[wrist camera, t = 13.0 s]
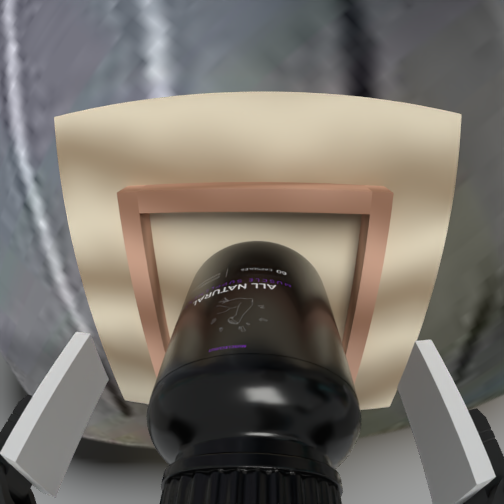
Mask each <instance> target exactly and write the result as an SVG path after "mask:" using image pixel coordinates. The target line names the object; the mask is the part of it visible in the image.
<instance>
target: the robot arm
mask: <svg viewBox="0 0 504 504" xmlns="http://www.w3.org/2000/svg"><path fill="white" fill-rule="evenodd" d="M108 380H109V379H108V377H107V374H106V372H105V370H104V367H103V365H102V362H101V360H100V357H99V355H98V352H97V349H96V347H95V344H94V342H93V339H92V336H91V334H88V333H81V332H76V333H75V334H74V336H73V337H72V338H71V340H70V341H69V343H68V344H67V346H66V347H65V348H64V350H63V351H62V353H61V354H60V356H59V357H58V359H57V360H56V362H55V363H54V365H53V366H52V368H51V369H50V371H49V372H48V374H47V375H46V377H45V378H44V380H43V381H42V383H41V384H40V386H39V387H38V389H37V391H36V392H35V394H34V395H33V396H31V395H27V396H26V397H25V398H23V399H22V400H21V401H20V402H19V403H18V404H17V406H16V407H15V409H14V410H13V414H11V416H10V417H9V419H8V422H6V424H5V425H4V427H3V429H2V431H1V432H0V504H36V501H35V498H34V494H33V492H32V490H31V489H30V488H31V486H32V485H33V486H35V487H36V488H37V489H38V490H39V491H41V492H43V493H45V494H47V495H50V496H52V497H54V498H56V495H57V493H58V490H59V488H60V485H61V483H62V481H63V478H64V476H65V473H66V471H67V468H68V466H69V464H70V461H71V459H72V457H73V454H74V452H75V450H76V447H77V445H78V443H79V441H80V439H81V436H82V434H83V432H84V430H85V428H86V425H87V423H88V421H89V419H90V417H91V415H92V413H93V410H94V408H95V406H96V404H97V402H98V400H99V398H100V396H101V394H102V392H103V390H104V388H105V386H106V384H107V382H108ZM397 388H398V391H399V394H400V397H401V400H402V402H403V405H404V408H405V411H406V414H407V417H408V420H409V423H410V426H411V429H412V432H413V435H414V438H415V442H416V444H417V448H418V452H419V455H420V458H421V462H422V465H423V468H424V472H425V475H426V479H427V483H428V487H429V490H430V494H431V498H432V502H433V504H504V456H503V454H502V452H501V449H500V447H499V445H498V442H497V440H496V439H495V436H494V434H493V431H492V430H491V427H490V425H489V423H488V421H487V419H486V417H485V416H484V415H483V414H482V413H481V412H480V411H479V410H478V409H473V410H469V411H468V410H467V408H466V405H465V403H464V401H463V399H462V397H461V395H460V393H459V391H458V389H457V387H456V385H455V383H454V381H453V379H452V377H451V375H450V373H449V372H448V370H447V368H446V366H445V364H444V362H443V360H442V358H441V357H440V355H439V353H438V351H437V349H436V348H435V346H434V344H433V342H432V340H422V341H415V343H414V346H413V348H412V351H411V354H410V356H409V359H408V362H407V364H406V367H405V369H404V372H403V374H402V377H401V379H400V382H399V384H398V386H397Z"/></svg>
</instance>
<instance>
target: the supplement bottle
mask: <svg viewBox="0 0 504 504" xmlns="http://www.w3.org/2000/svg"><path fill="white" fill-rule="evenodd" d="M147 426H148V430H149V434H150V437H151V440H152V442H153V444H154V446H155V448H156V449H157V451H158V452H159V454H160V455H161V456H162V457H163V459H164V460H165V461H166V462H167V463H168V464H169V466H168V467H167V468H166V469H165V471H164V474H163V479H162V484H161V489H162V495H161V500H160V504H342V503H341V496H342V493H343V490H342V483H341V478H340V475H339V473H338V472H337V471H336V470H335V469H336V468H337V467H338V466H340V465H341V464H342V463H343V462H344V461H345V459H346V458H347V457H348V456H349V454H350V453H351V451H352V449H353V448H354V446H355V444H356V442H357V439H358V436H359V433H360V429H361V412H360V407H359V401H358V398H357V394H356V390H355V386H354V383H353V379H352V376H351V372H350V369H349V365H348V362H347V358H346V355H345V351H344V348H343V345H342V341H341V338H340V335H339V331H338V328H337V325H336V322H335V318H334V315H333V312H332V309H331V306H330V303H329V299H328V296H327V293H326V291H325V288H324V285H323V282H322V280H321V278H320V276H319V274H318V272H317V271H316V269H315V268H314V267H313V265H312V264H311V263H310V262H309V261H308V260H307V259H306V258H305V257H303V256H302V255H301V254H299V253H298V252H296V251H294V250H293V249H291V248H289V247H286V246H284V245H281V244H277V243H273V242H267V241H247V242H241V243H237V244H233V245H231V246H228V247H226V248H224V249H222V250H220V251H218V252H217V253H215V254H214V255H212V256H211V257H210V258H209V259H207V260H206V261H205V262H204V263H203V265H202V266H201V267H200V269H199V270H198V271H197V273H196V275H195V277H194V279H193V281H192V283H191V286H190V288H189V291H188V293H187V296H186V298H185V301H184V304H183V306H182V309H181V312H180V314H179V317H178V320H177V323H176V325H175V328H174V331H173V334H172V336H171V339H170V342H169V345H168V347H167V350H166V353H165V356H164V359H163V362H162V364H161V367H160V370H159V373H158V376H157V379H156V382H155V385H154V388H153V391H152V394H151V397H150V401H149V404H148V409H147Z"/></svg>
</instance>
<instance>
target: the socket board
mask: <svg viewBox="0 0 504 504" xmlns="http://www.w3.org/2000/svg"><path fill="white" fill-rule="evenodd" d="M54 120H55V134H56V144H57V154H58V163H59V170H60V178H61V184H62V191H63V197H64V203H65V208H66V214H67V219H68V224H69V229H70V234H71V238H72V243H73V247H74V251H75V256H76V260H77V264H78V268H79V271H80V275H81V279H82V282H83V286H84V290H85V293H86V296H87V300H88V303H89V306H90V310H91V313H92V316H93V319H94V322H95V325H96V328H97V331H98V334H99V337H100V339H101V342H102V345H103V348H104V350H105V353H106V356H107V358H108V361H109V364H110V366H111V369H112V371H113V374H114V376H115V379H116V381H117V383H118V386H119V388H120V390H121V393H122V395H123V397H124V400H126V401H132V402H138V403H144V404H149V401H150V397H151V394H152V391H153V388H154V385H155V382H156V379H157V376H158V373H159V370H160V367H161V364H162V362H163V359H164V356H165V353H166V350H167V347H168V345H169V342H170V339H171V336H172V334H173V331H174V328H175V325H176V323H177V320H178V317H179V314H180V312H181V309H182V306H183V304H184V301H185V298H186V296H187V293H188V291H189V288H190V286H191V283H192V281H193V279H194V277H195V275H196V273H197V271H198V270H199V269H200V267H201V266H202V265H203V263H204V262H205V261H206V260H207V259H209V258H210V257H211V256H212V255H214V254H215V253H217V252H218V251H220V250H222V249H224V248H226V247H228V246H231V245H233V244H237V243H241V242H247V241H267V242H273V243H277V244H281V245H284V246H286V247H289V248H291V249H293V250H294V251H296V252H298V253H299V254H301V255H302V256H303V257H305V258H306V259H307V260H308V261H309V262H310V263H311V264H312V265H313V267H314V268H315V269H316V271H317V272H318V274H319V276H320V278H321V280H322V282H323V285H324V288H325V291H326V293H327V296H328V299H329V303H330V306H331V309H332V312H333V315H334V318H335V322H336V325H337V328H338V331H339V335H340V338H341V341H342V345H343V348H344V351H345V355H346V358H347V362H348V365H349V369H350V372H351V376H352V379H353V383H354V386H355V390H356V394H357V398H358V401H359V407H360V410H365V409H374V408H383V407H390V405H391V402H392V400H393V398H394V396H395V394H396V391H397V389H398V388H397V386H398V384H399V382H400V379H401V377H402V374H403V372H404V369H405V367H406V364H407V362H408V359H409V356H410V354H411V351H412V348H413V346H414V343H415V341H417V338H418V335H419V332H420V330H421V327H422V324H423V321H424V317H425V314H426V311H427V308H428V305H429V301H430V298H431V295H432V291H433V288H434V284H435V280H436V277H437V273H438V269H439V265H440V261H441V257H442V252H443V248H444V244H445V239H446V234H447V229H448V224H449V219H450V213H451V208H452V202H453V195H454V188H455V181H456V173H457V165H458V155H459V144H460V131H461V114H458V113H454V112H449V111H445V110H440V109H435V108H430V107H425V106H420V105H414V104H408V103H402V102H396V101H389V100H382V99H374V98H366V97H357V96H347V95H335V94H321V93H303V92H226V93H207V94H193V95H182V96H172V97H162V98H154V99H146V100H139V101H132V102H126V103H120V104H114V105H108V106H103V107H97V108H92V109H87V110H83V111H78V112H74V113H69V114H65V115H61V116H57V117H54Z"/></svg>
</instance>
